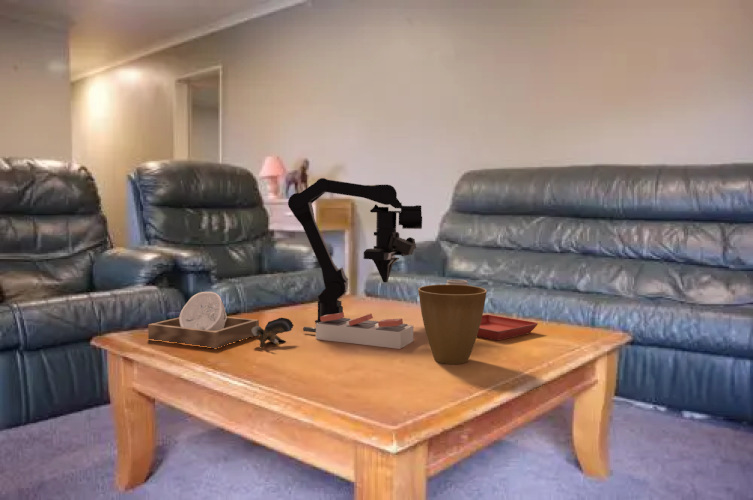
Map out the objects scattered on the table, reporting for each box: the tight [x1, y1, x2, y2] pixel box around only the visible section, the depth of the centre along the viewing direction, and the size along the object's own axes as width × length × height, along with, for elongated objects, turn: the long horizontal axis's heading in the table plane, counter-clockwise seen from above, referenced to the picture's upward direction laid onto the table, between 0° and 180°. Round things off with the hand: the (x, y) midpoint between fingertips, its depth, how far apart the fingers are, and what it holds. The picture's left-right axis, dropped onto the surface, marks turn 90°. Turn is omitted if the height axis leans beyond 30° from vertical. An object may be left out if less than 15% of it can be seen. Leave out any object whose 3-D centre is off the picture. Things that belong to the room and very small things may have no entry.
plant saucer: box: [477, 314, 539, 341], centre depth 161 cm, size 18×18×3 cm
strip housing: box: [302, 317, 414, 350], centre depth 150 cm, size 29×9×4 cm, turn 67°
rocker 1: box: [320, 311, 345, 322], centre depth 149 cm, size 5×4×1 cm
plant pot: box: [417, 283, 488, 365], centre depth 129 cm, size 15×15×16 cm
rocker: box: [349, 313, 374, 326], centre depth 146 cm, size 5×4×1 cm
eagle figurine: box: [252, 317, 294, 348], centre depth 142 cm, size 8×7×9 cm
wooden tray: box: [147, 316, 260, 349], centre depth 148 cm, size 20×17×4 cm
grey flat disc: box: [178, 291, 228, 331], centre depth 149 cm, size 10×14×12 cm
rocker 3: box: [378, 318, 404, 327], centre depth 143 cm, size 5×4×1 cm
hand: (385, 282), depth 170 cm, fingers closed
